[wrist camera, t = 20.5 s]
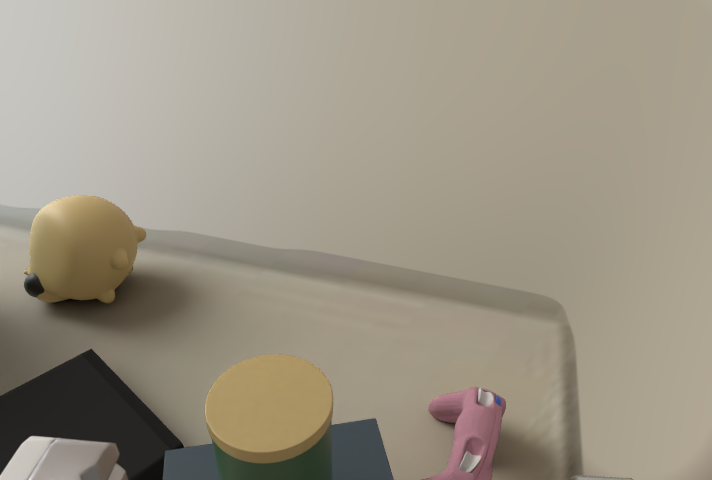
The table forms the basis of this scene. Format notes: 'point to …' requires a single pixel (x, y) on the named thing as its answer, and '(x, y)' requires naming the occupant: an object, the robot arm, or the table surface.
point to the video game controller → (470, 431)
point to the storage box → (349, 456)
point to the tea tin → (271, 420)
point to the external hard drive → (86, 416)
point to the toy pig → (80, 250)
